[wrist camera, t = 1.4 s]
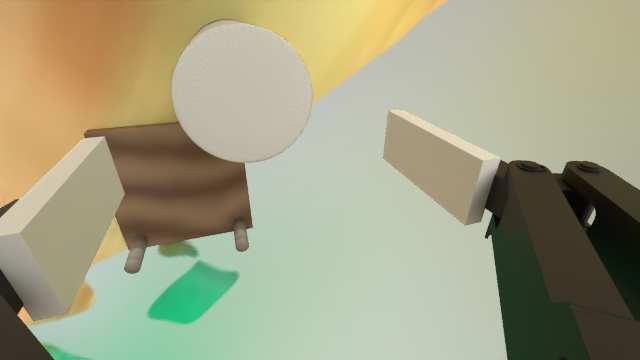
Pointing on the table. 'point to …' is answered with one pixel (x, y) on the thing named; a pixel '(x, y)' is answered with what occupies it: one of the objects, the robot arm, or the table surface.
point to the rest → (174, 189)
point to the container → (241, 92)
